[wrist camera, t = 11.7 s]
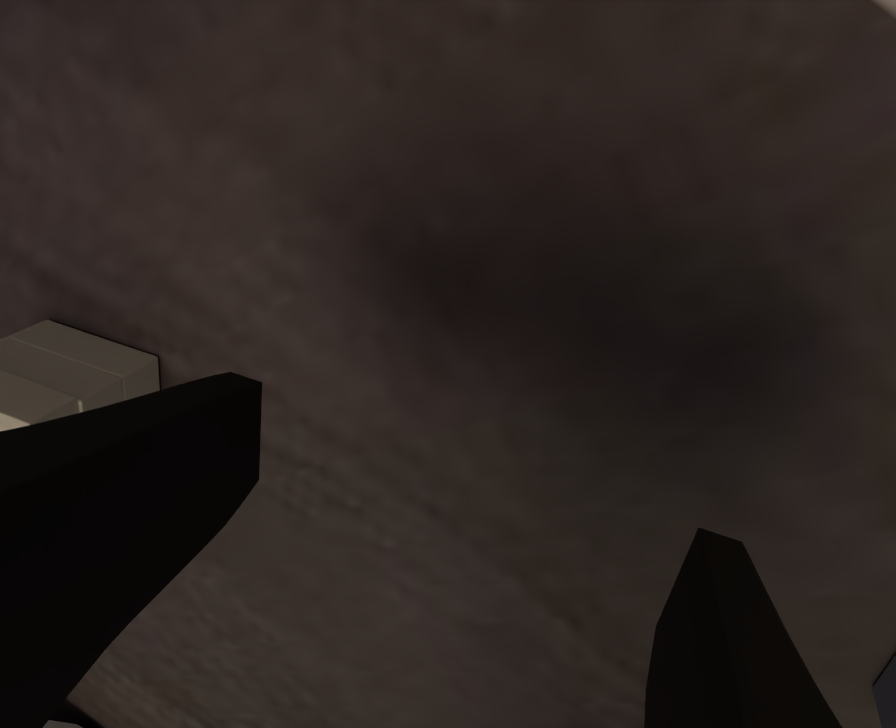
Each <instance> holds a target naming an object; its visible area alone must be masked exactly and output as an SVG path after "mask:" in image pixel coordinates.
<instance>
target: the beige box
mask: <svg viewBox="0 0 896 728" xmlns="http://www.w3.org/2000/svg"><path fill="white" fill-rule="evenodd" d="M76 413H79V412H78V403H77V397H75V396H72V395H70V394H67V393H64V392H61V391H58V390H56V389H53V388H50V387H47V386H45V385H42V384H39V383H36V382H34V381H31V380H28V379H25V378H23V377H20V376H17V375H14V374H12V373H9V372H6V371H3V370H1V369H0V431H5V430H10V429H15V428H19V427H24V426H28V425H33V424H37V423H41V422H45V421H49V420H53V419H57V418H61V417H65V416H69V415H73V414H76Z"/></svg>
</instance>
